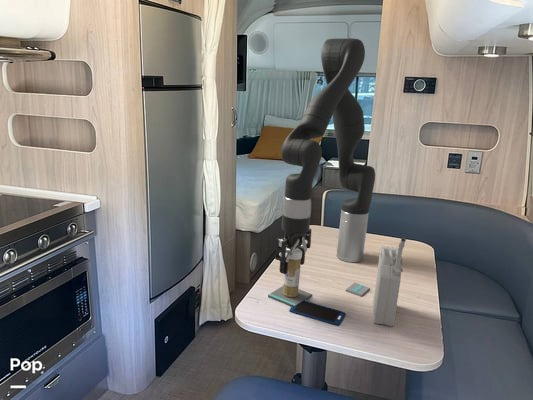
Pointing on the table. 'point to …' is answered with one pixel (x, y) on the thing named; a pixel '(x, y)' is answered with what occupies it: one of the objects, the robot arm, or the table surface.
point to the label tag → (357, 289)
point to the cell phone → (319, 312)
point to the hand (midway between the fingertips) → (292, 268)
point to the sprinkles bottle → (292, 274)
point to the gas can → (388, 284)
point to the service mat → (289, 301)
